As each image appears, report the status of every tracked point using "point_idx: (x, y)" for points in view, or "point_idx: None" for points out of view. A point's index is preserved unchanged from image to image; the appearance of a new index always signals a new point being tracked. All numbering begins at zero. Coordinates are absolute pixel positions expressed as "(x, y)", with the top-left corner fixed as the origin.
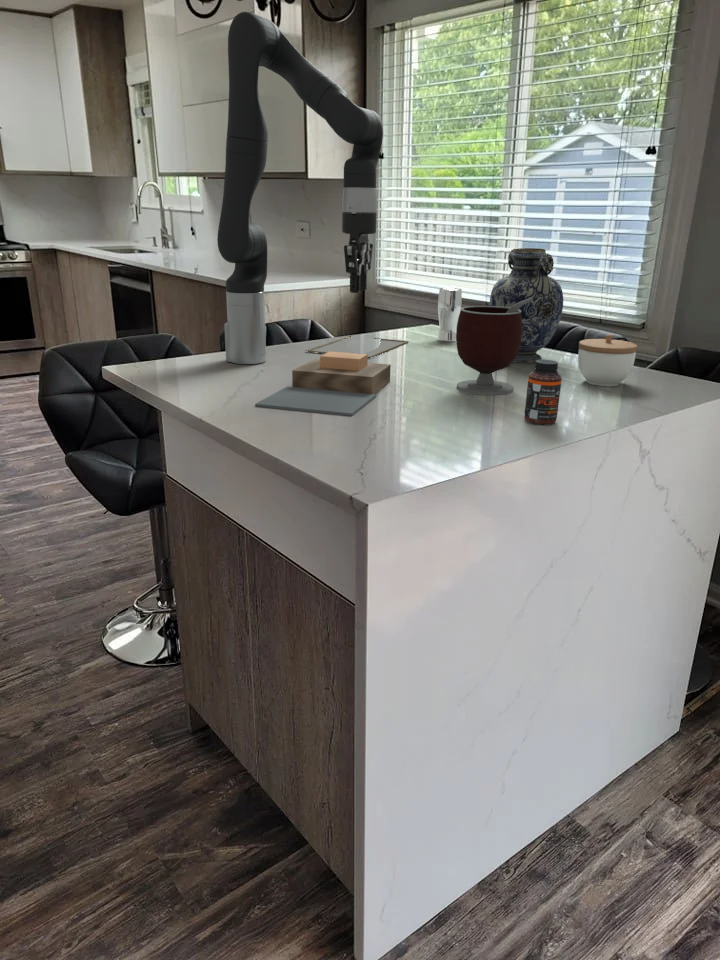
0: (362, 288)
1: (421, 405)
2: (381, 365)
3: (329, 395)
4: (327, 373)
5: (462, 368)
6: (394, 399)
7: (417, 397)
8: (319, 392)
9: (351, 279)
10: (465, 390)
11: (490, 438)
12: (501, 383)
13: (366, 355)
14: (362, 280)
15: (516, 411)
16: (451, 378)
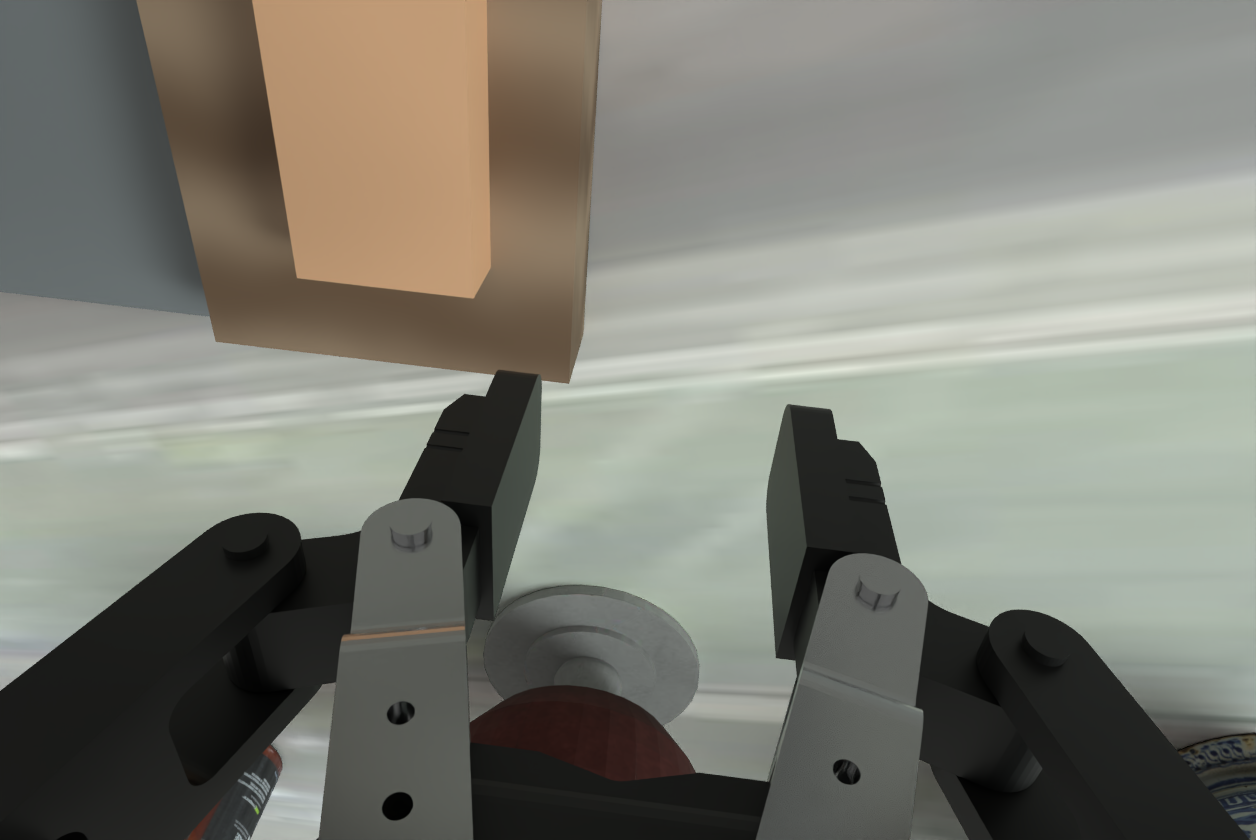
0: (776, 479)
1: (227, 489)
2: (522, 342)
3: (94, 101)
4: (155, 73)
5: (994, 602)
6: (259, 392)
7: (340, 468)
8: (117, 24)
9: (412, 490)
10: (501, 615)
11: (2, 654)
12: (650, 713)
13: (446, 294)
14: (782, 550)
15: (317, 716)
16: (750, 567)
